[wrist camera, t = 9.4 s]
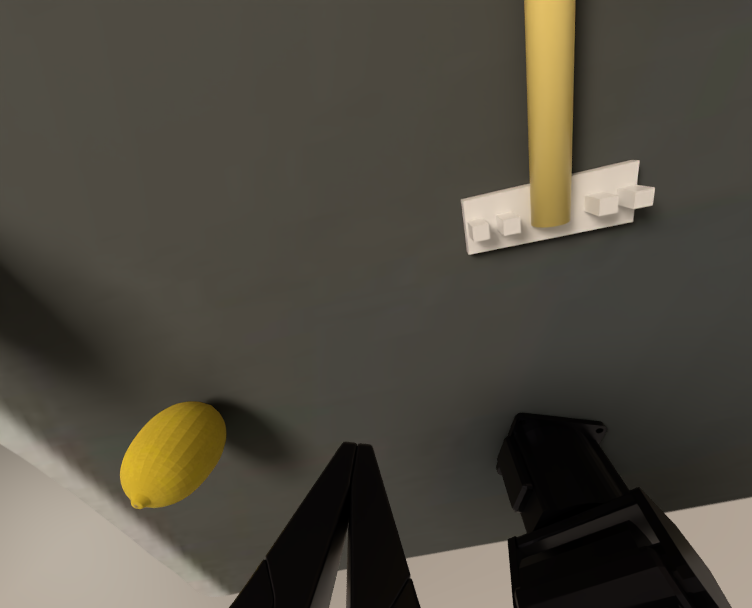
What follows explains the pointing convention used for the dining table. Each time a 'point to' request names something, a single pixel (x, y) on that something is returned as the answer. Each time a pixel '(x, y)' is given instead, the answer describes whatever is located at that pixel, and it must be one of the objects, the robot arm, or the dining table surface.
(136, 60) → the dining table surface
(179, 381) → the dining table surface
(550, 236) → the wooden handled rake
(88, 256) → the dining table surface
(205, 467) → the lemon
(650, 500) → the robot arm
